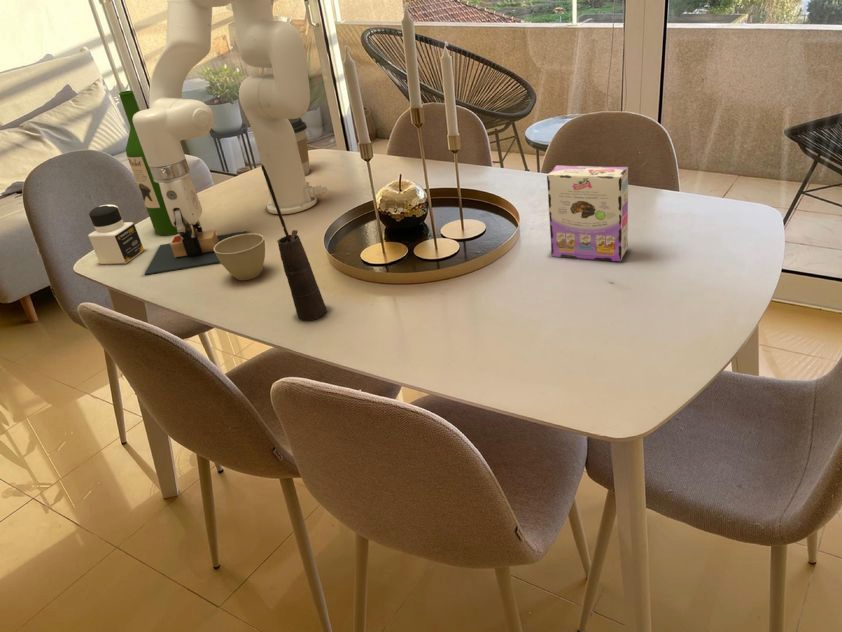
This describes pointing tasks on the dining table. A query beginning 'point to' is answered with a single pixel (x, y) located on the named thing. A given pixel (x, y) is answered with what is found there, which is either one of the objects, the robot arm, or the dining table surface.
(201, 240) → the stamp
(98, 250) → the medicine bottle
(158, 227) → the wine bottle
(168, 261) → the desk mat
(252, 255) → the beige bowl
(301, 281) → the butter churn
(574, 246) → the candy box
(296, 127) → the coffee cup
